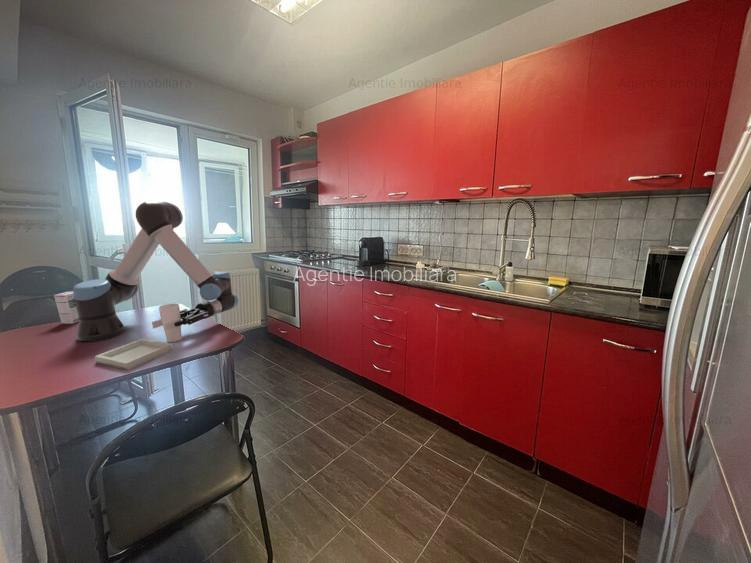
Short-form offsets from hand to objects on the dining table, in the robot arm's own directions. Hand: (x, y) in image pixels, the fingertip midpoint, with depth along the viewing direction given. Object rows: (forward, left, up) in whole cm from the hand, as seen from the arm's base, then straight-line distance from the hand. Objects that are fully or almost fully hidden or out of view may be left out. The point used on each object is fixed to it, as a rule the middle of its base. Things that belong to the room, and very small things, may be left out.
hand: (159, 326), depth 117 cm
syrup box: (-67, +5, -8) cm, 68 cm away
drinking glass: (0, +5, -8) cm, 10 cm away
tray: (0, -10, -8) cm, 13 cm away
